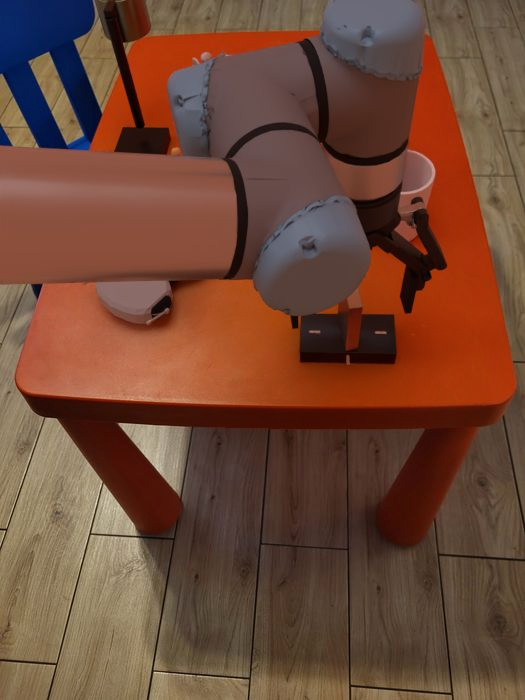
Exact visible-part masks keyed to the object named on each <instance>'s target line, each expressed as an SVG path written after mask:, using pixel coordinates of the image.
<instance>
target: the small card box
mask: <svg viewBox="0 0 525 700" xmlns="http://www.w3.org/2000/svg"><path fill="white" fill-rule="evenodd" d="M363 310H364V304H363V301H362V296H361V293H360V289H359V287H358V288H357V289H356V290H355V291H354V292H353V294H351V295H350V296H349V297H348V298H346V299H345V300H344V301H342V302H341V303H339V304H337V314H338V320H339V325H340V329H341V334H342V338H343V343H344V347H345V351H351V350H358V345H359V336H360V328H361V319H362V314H363Z"/></svg>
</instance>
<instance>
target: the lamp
mask: <svg viewBox="0 0 525 700" xmlns="http://www.w3.org/2000/svg"><path fill="white" fill-rule="evenodd" d="M94 3H95V7H96V11H97V14H98V17H99V20H100V25H101V28H102V31H103V34H104V37H105V38H106V39H107V40H108V41H110V43H111V46H112V50H113V53H114V57H115V60H116V64H117V67H118V70H119V74H120V78H121V81H122V84H123V88H124V91H125V95H126V98H127V101H128V106H129V109H130V112H131V115H132V119H133V123H134V127H136V128H139V129H140V128H143V127H146V123H145V119H144V115H143V111H142V108H141V104H140V100H139V97H138V93H137V89H136V86H135V83H134V78H133V74H132V71H131V68H130V64H129V60H128V57H127V52H126V49H125V45H124V44H126V43H127V44H128V43H133V42H137V41H138V40H141V39H143V38H145V37H147V35H149V33H150V32H151V30H152V22H151V17H150V14H149V10H148V4H147V0H94Z"/></svg>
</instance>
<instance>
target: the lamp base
mask: <svg viewBox="0 0 525 700" xmlns="http://www.w3.org/2000/svg"><path fill="white" fill-rule="evenodd" d="M171 139H172V137H171V132H170V128H169V127H165V126H164V127H162V126H161V127H158V126H154V127H153V126H144V127H143V128H140V129H139V128H136V126H123V127H122V128H121V131H120V133H119V137H118V138H117V142H116V145H115V148H114V150H113V152H123V153H141V154H159V155H168V150H169V147H170V143H171Z"/></svg>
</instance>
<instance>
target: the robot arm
mask: <svg viewBox="0 0 525 700" xmlns="http://www.w3.org/2000/svg"><path fill="white" fill-rule="evenodd" d="M425 33H426V16H425V13H424V11H423V9H422V6H421V5H420V4H419V3H418V2H417V0H329V2H328V3H327V4H326V6H325V9H324V11H323V14H322V19H321V24H320V25H319V34H318V35H313V36H309V37H305V38H303V39H302V40H298V41H293V42H288V43H283V44H279V45H274V46H269V47H264V48H259V49H254V50H249V51H246V52H245V51H244V52H240V53H235V54H229V55H230V56H225V57H220V58H217V56H216V57H212V58H211V59H210V60H209V61H207V62H204V63H202V62H199V63H200V64H197V65H193V64H192V65H190V66H188V67H183V68H180V69H177V70H175V71H173V72H172V73H171V74H170V76H169V77H168V79H167V82H166V93H167V98H168V103H169V108H170V112H171V116H172V121H173V125H174V129H175V132H176V136H177V140H178V144H179V149H180V150H181V155H180V156H177V155H172V154H166V155H159V154H141V153H123V152H114V151H103V150H88V149H87V150H86V149H85V150H84V149H67V148H52V147H51V148H50V147H32V146H17V145H16V146H15V145H14V146H13V145H0V286H4V285H7V286H8V285H43V284H44V285H45V284H47V285H49V284H50V285H51V284H78V283H79V284H82V283H87V284H89V283H90V284H91V283H96V282H132V281H173V280H178V281H205V280H206V281H210V280H211V281H212V280H219V281H226V280H228V281H246V280H250V281H251V280H252V286H253V288H254V289H253V290H255V291H256V292H258V294H259V296H260V298H261V300H262V302H263V303H264V304H265V305H266V306H267V307H268V308H270V309H271V310H273V311H279V312H282V313H283V314H284V315H285V316H289V318H290V323H291V329H292V330H296V329H300V328H299V325H300V324H299V317H301V316H305V315H311V314H320V313H321V312H324V311H325V312H326V311H327V310H330V309H331V308H334V307H336V306H338V304H339V303H341V302H342V301H344V300H345V299H346V298H348V297H349V296H350V295H351V294H353V292H354V291H355V290H356V289H357V288H358V289H359V287H360V286H361V285H362V283H363V280H364V278H366V276H367V274H368V272H369V269H370V266H371V261H372V255H371V254H372V253H371V251H372V250H373V248H375V247H377V248H379V249H381V250H382V251H383V252H384V253H386V254H387V255H388V254H391V255H392V256H393V257H395V258H396V259H397V260H398V261H400V262H401V263H403V264H404V265H405V268H404V272H403V278H402V283H401V287H400V293H399V299H400V302H401V306H402V310H403V312H404V314H405V315H407V314H412V313H413V312H412V311H413V307H414V301H415V298H416V295H417V294H416V293H417V292H420V291H423V290H424V288H425V287H426V282H429V281H431V280H432V279H433V276H432V275H433V274H432V273H431V271H433V270H436V271H439V272H441V271H444V270H446V269H447V268H448V263H447V261H446V258H445V256H444V252H443V250H442V247H441V245H440V243H439V241H438V239H437V237H436V236H435V233H434V232H433V230H432V228H431V226H430V224H429V223H430V215H429V212H428V210H427V207H425V204H424V201H423V199H422V197H415V198H413V199H412V200H411V205H408V206H403V207H399V201H400V194H401V188H402V179H403V176H404V171H405V163H406V156H407V149H408V150H409V144H408V141H409V142H410V135H411V129H412V122H413V116H414V111H415V105H416V99H417V93H418V87H419V82H420V76H421V75H422V73H423V69H424V63H423V62H424V61H423V59H424V49H425V41H426V40H425V39H426V34H425ZM401 221H405V222H406V223H407V225H409V226H411V228H412V229H416V232H417V234H418V235H417V237H418V238H419V241H420V242H421V244H422V246H423V248H424V249H425V251H426V254H424V252H422V251H421V250H420V249H418V248H417V247H416V246H415V245H414V244H412V243H411V241H410V242H409V241H407V240H406V239H405V238H404V237H402V236H401V235H400V234H399V233H398V232H396V231H395V230H394V229H395V228H396V227H397V226H398V225H399V224H400V222H401Z"/></svg>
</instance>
